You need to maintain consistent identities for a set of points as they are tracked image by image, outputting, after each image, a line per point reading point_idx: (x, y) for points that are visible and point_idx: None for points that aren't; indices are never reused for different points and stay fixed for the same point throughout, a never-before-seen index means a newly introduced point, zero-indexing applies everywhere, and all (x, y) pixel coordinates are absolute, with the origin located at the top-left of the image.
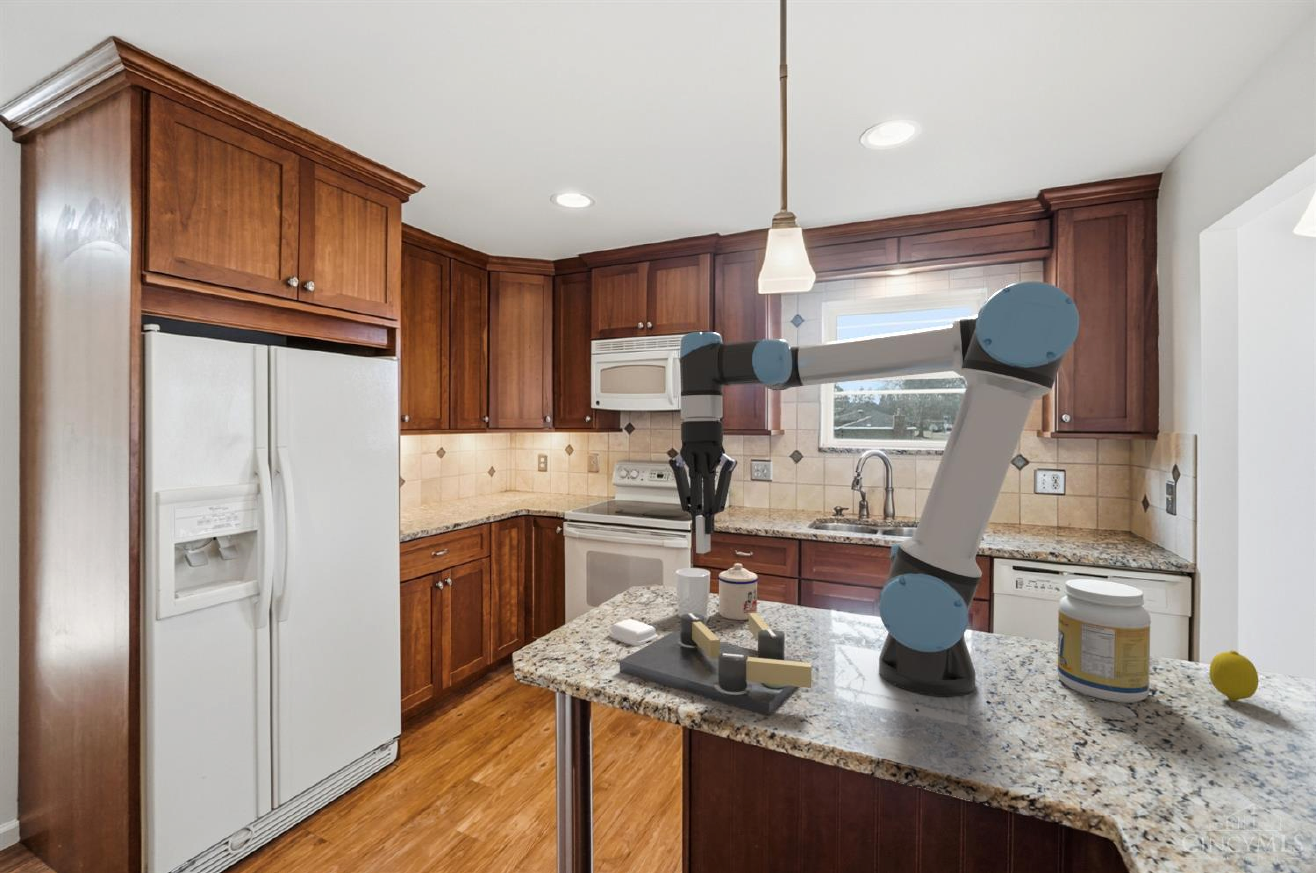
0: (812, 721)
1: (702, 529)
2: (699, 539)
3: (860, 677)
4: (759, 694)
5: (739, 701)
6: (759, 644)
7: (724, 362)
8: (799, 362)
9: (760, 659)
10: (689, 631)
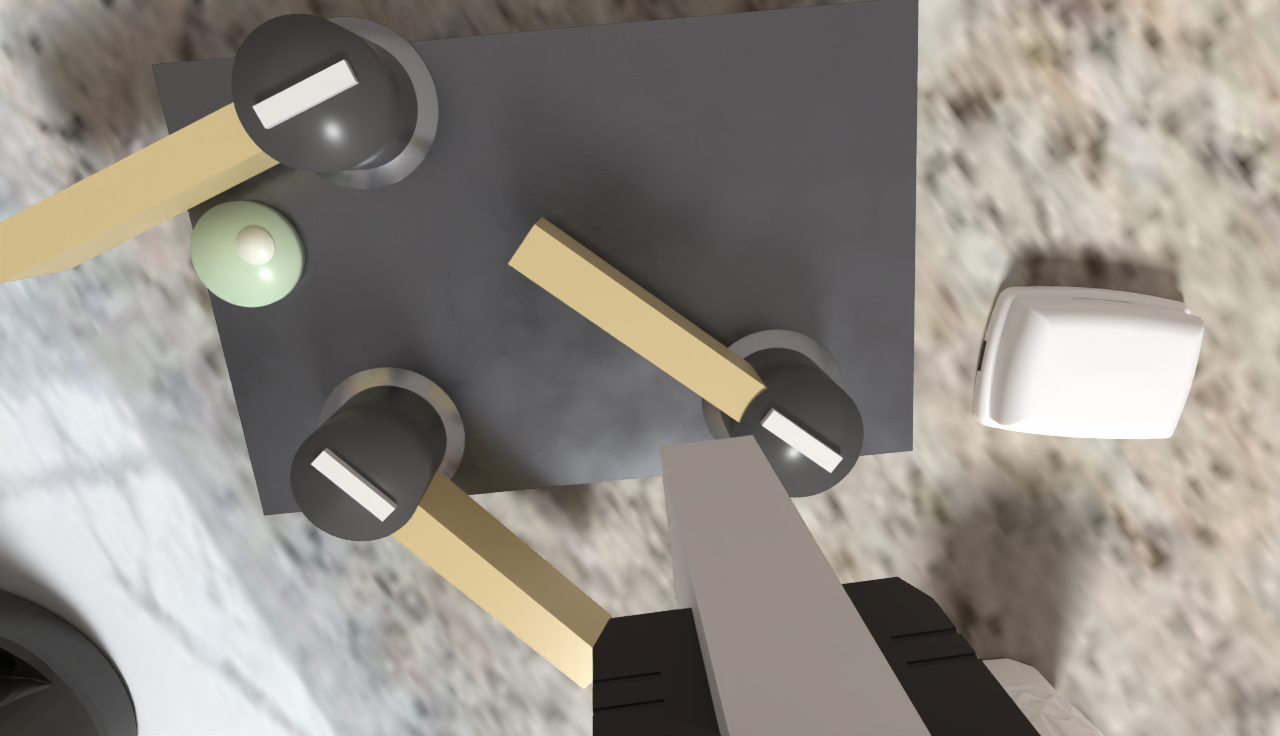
0: (48, 144)
1: (710, 595)
2: (739, 510)
3: (136, 583)
4: None
5: None
6: (399, 417)
7: None
8: None
9: (194, 162)
10: (769, 368)
